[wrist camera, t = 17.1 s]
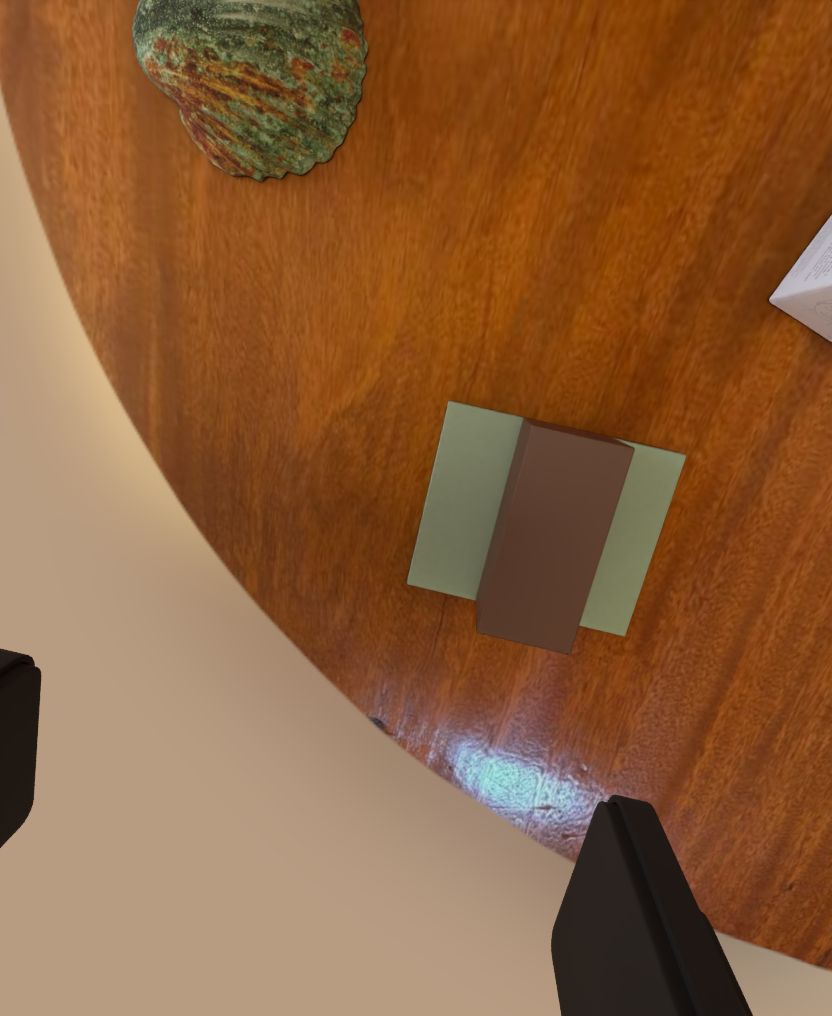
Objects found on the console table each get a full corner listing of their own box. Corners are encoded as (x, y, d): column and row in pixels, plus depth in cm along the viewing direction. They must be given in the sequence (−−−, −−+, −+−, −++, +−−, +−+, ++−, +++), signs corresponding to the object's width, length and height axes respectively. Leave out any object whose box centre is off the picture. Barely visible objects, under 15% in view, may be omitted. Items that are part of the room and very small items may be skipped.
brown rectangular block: (474, 600, 31) (476, 633, 27) (523, 417, 28) (532, 424, 24) (557, 619, 31) (570, 656, 27) (612, 437, 28) (635, 448, 24)
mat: (407, 579, 32) (406, 584, 31) (449, 400, 29) (448, 401, 28) (621, 630, 31) (625, 636, 30) (681, 453, 29) (687, 455, 28)
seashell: (339, 150, 23) (102, 132, 24) (358, 190, 27) (155, 174, 28) (361, -139, 21) (106, -150, 22) (378, -50, 25) (162, -61, 26)
